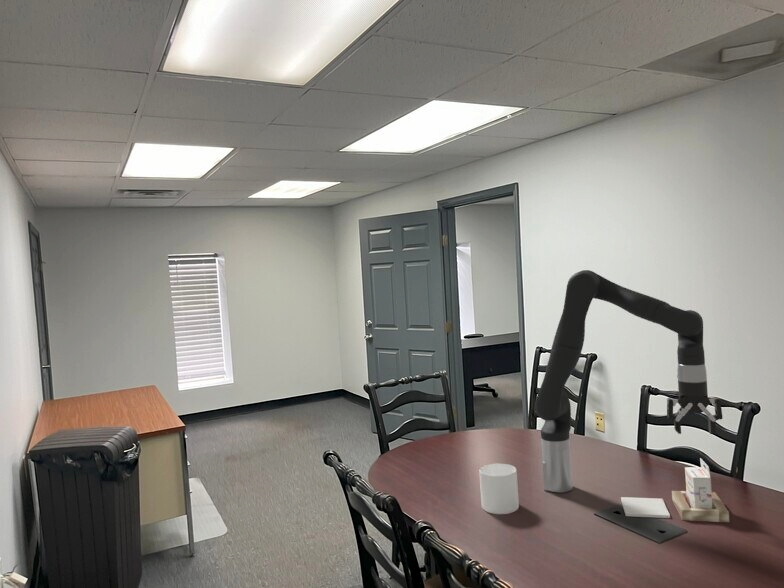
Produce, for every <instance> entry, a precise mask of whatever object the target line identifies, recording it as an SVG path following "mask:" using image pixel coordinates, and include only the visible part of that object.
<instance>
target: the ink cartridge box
mask: <svg viewBox="0 0 784 588" xmlns="http://www.w3.org/2000/svg"><path fill="white" fill-rule="evenodd" d="M699 462H700V467H696V466H695V467H693V466H691V467H688V466H687V467H684V473H685V489H686V490H685V491H686V496H687V503H688V505H689V507H690V508H700V509H712V492H713V491H712V479H711V478H712V477H711V472H710V466H709V465H708V464H707V463H706V462H705V461H704V460H703V458H701V457H700V458H699Z"/></svg>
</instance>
